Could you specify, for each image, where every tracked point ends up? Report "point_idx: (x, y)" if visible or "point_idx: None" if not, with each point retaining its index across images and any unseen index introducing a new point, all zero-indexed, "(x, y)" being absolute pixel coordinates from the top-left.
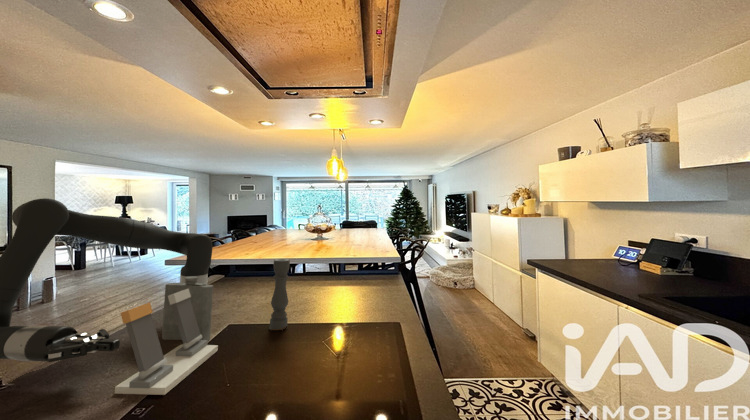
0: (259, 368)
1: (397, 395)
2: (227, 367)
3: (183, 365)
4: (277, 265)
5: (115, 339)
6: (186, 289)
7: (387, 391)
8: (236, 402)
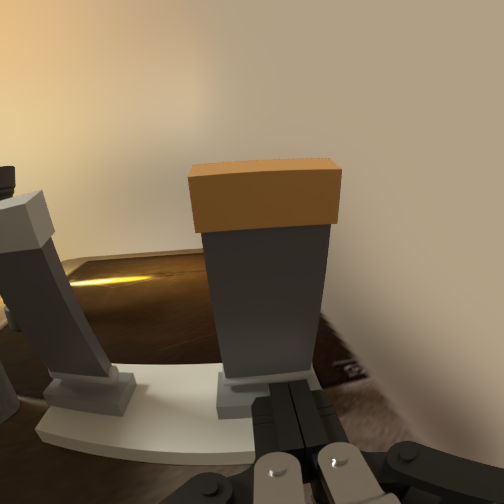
0: (191, 312)
1: None
2: (182, 340)
3: (191, 379)
4: (7, 176)
5: (275, 390)
6: None
7: None
8: None
